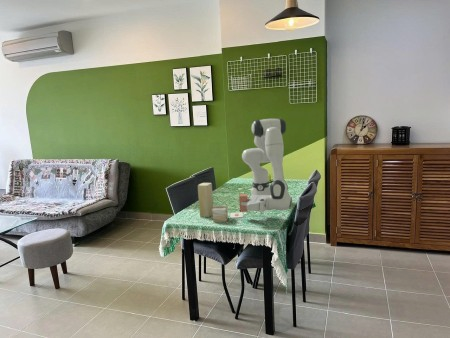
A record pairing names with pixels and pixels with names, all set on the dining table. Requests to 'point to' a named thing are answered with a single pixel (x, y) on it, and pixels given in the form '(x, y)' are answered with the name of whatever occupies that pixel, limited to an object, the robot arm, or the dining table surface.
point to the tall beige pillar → (205, 199)
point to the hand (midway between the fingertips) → (242, 201)
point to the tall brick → (243, 199)
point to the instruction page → (236, 215)
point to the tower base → (220, 218)
